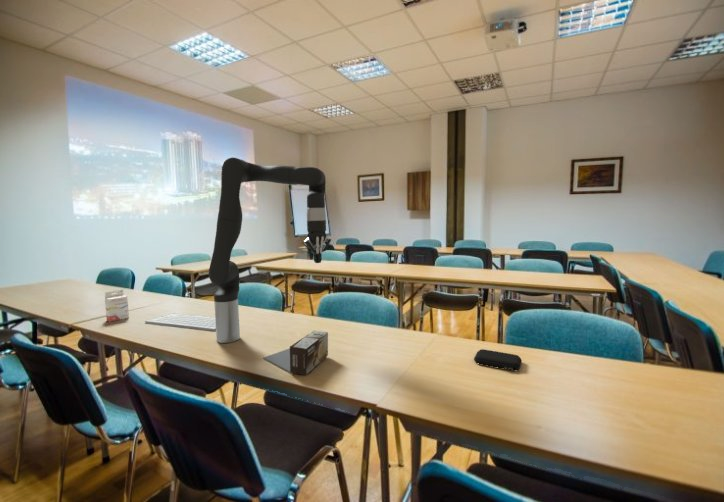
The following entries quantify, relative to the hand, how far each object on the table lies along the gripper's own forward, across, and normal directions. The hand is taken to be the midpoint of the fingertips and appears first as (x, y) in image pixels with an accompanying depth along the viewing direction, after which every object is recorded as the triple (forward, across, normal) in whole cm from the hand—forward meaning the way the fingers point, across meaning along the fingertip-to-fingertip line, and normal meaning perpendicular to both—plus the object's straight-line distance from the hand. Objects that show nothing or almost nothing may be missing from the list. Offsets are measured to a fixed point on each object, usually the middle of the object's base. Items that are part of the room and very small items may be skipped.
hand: (317, 262), depth 136 cm
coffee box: (+28, +9, +12) cm, 31 cm away
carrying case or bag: (+34, -29, +62) cm, 76 cm away
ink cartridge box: (+33, +52, -102) cm, 119 cm away
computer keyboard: (+34, +27, -69) cm, 81 cm away
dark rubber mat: (+33, +18, +7) cm, 38 cm away
